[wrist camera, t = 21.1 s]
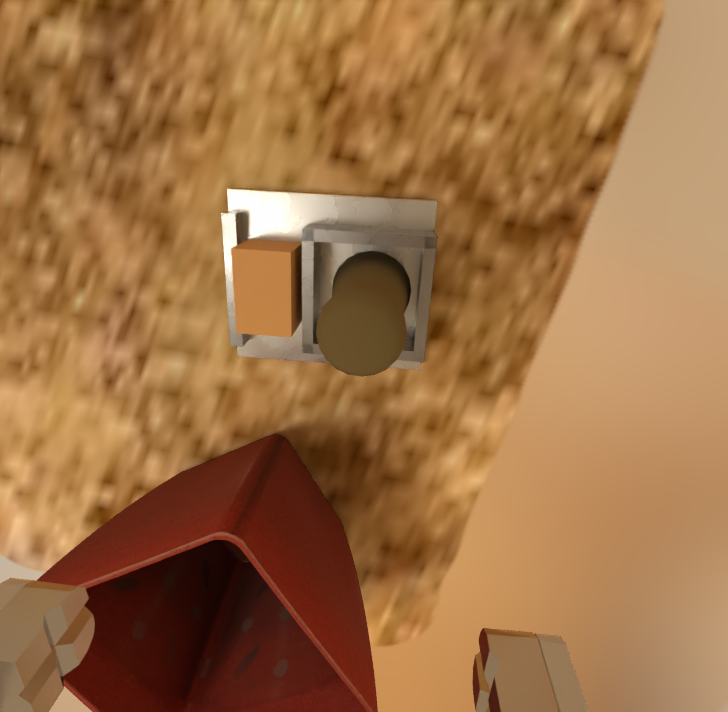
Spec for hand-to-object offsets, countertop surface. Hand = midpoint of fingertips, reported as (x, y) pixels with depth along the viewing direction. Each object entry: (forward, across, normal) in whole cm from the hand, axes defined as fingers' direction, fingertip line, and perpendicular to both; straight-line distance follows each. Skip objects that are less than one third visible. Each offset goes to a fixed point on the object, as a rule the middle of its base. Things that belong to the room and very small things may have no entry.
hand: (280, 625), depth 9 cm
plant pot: (+29, +10, +23) cm, 39 cm away
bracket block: (+28, +7, 0) cm, 28 cm away
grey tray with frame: (+29, +3, 0) cm, 29 cm away
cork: (+28, 0, 0) cm, 28 cm away
